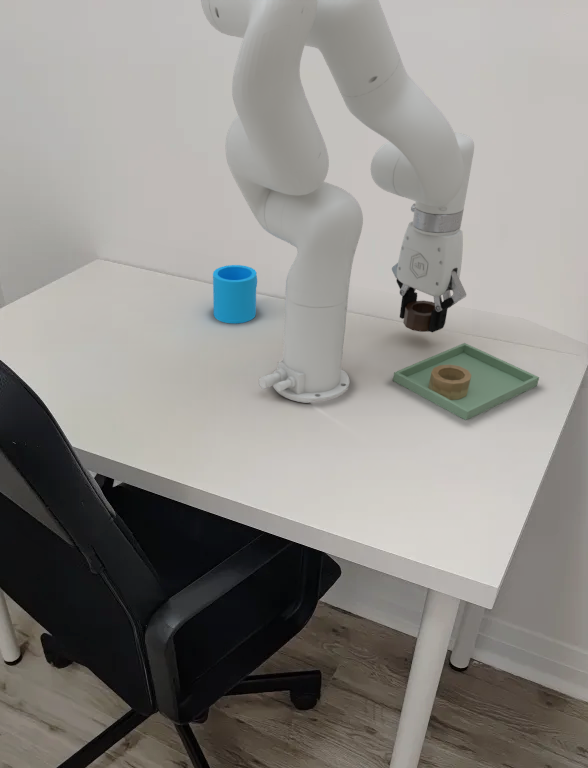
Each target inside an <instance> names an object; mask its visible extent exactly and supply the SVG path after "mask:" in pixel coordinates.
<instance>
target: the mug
mask: <svg viewBox="0 0 588 768" xmlns="http://www.w3.org/2000/svg"><path fill="white" fill-rule="evenodd" d="M257 288H258V276H257V271H256V269H254V268H252V267H250V266H247V265H241V264H230V265H224V266H223V265H222V266H220V267H218V268H216V269H215V270H214V271H213V273H212V298H213V299H212V301H213V303H212V304H213V305H212V306H213V317H214V318H215V320H217V321H219V322H222V323H224V324H225V323H226V324H245V323H247V322H250V321H252V320H253V319H254V318H255V317H256V314H257Z"/></svg>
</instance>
